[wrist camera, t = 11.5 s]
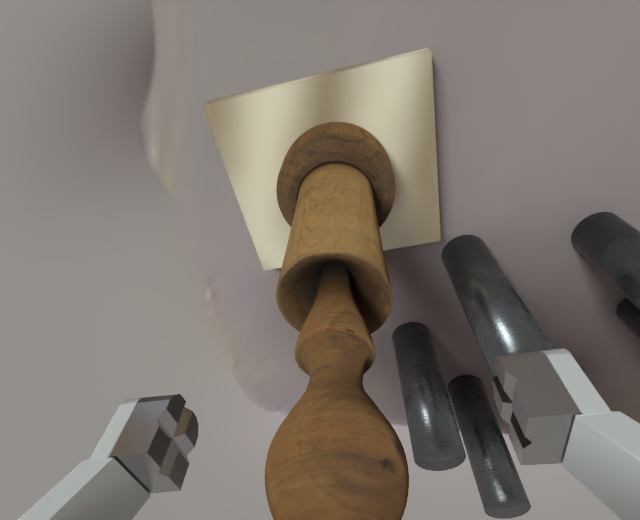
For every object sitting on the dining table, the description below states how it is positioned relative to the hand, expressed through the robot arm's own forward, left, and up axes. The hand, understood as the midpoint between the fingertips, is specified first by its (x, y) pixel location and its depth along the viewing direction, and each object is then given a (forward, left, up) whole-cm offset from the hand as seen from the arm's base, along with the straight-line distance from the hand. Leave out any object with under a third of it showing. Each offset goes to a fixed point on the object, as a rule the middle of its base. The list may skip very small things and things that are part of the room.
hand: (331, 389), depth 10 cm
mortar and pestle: (0, 0, -15) cm, 15 cm away
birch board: (0, 0, -16) cm, 16 cm away
